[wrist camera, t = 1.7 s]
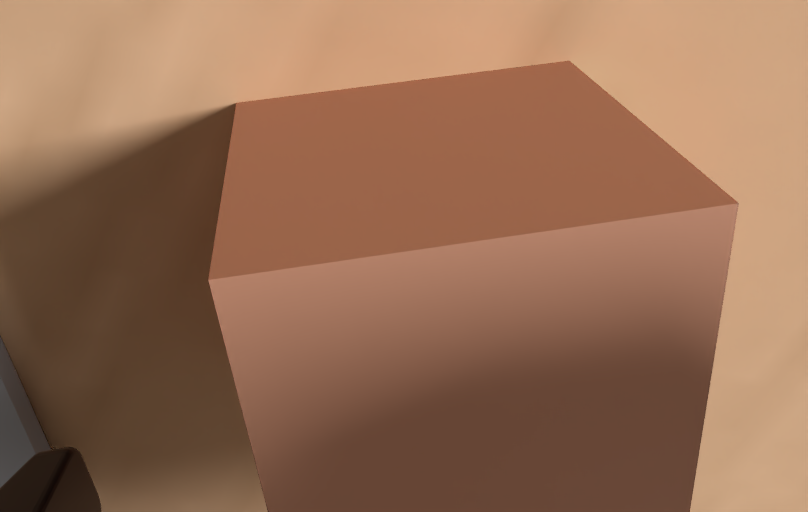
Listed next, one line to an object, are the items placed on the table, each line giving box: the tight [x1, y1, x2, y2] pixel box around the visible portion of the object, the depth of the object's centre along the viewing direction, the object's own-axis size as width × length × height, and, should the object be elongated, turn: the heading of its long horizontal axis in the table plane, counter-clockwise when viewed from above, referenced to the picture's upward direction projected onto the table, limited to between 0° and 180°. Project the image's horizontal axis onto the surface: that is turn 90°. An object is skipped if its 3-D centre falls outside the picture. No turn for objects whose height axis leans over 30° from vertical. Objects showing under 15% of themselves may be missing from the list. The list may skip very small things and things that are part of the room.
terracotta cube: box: [208, 61, 739, 512], centre depth 10 cm, size 5×5×5 cm
